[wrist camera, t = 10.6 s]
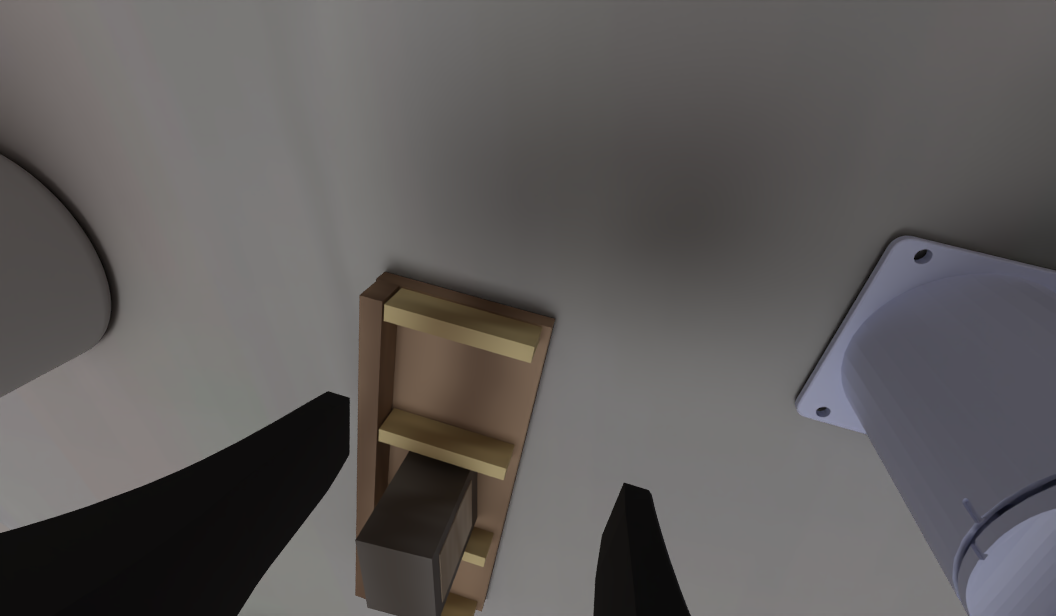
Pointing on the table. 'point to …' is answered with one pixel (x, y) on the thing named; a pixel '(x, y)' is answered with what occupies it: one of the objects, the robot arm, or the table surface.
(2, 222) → the cylinder vase
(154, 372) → the table surface
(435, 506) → the black box
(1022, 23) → the table surface
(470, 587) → the rack
